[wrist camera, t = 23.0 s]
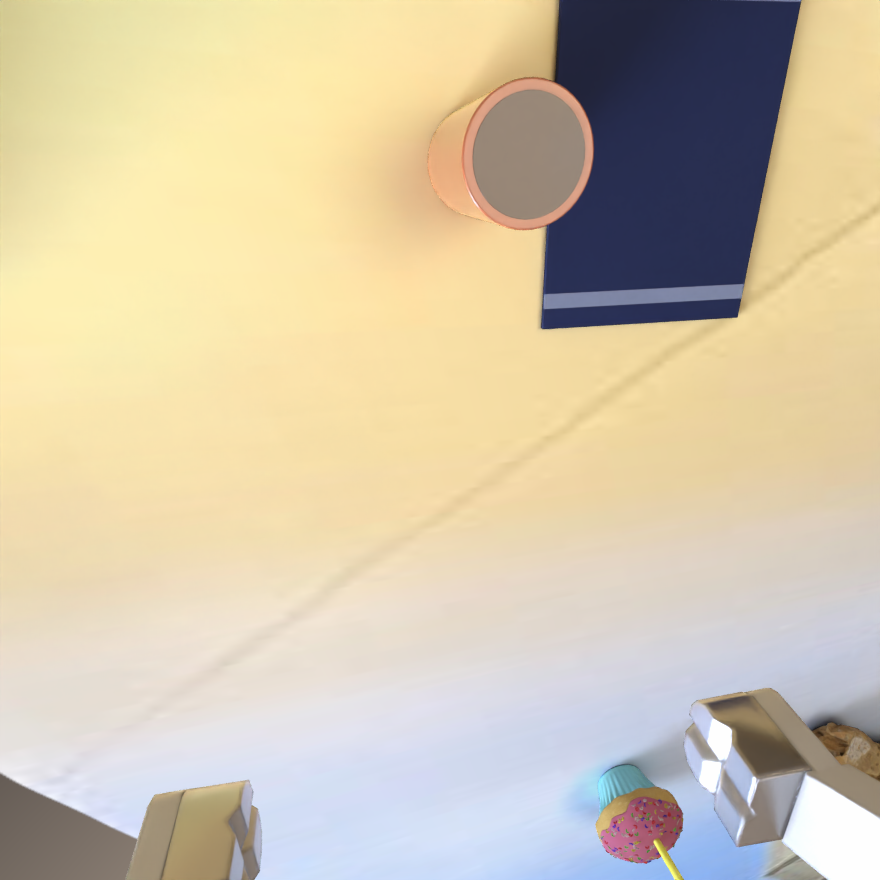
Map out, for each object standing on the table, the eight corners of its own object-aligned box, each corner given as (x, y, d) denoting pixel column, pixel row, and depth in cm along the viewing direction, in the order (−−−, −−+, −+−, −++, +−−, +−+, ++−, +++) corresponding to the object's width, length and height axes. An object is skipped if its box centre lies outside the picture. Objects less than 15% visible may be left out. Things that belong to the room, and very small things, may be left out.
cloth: (734, 316, 40) (737, 317, 39) (540, 328, 38) (542, 329, 37) (806, -48, 31) (811, -50, 31) (562, -57, 29) (565, -60, 29)
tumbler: (492, 234, 35) (546, 255, 26) (409, 182, 33) (436, 185, 24) (544, 142, 33) (621, 129, 24) (460, 82, 31) (510, 43, 22)
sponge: (749, 753, 64) (854, 843, 68) (802, 807, 56) (917, 905, 60) (828, 666, 63) (929, 761, 67) (893, 708, 56) (1002, 814, 60)
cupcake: (595, 751, 57) (655, 884, 47) (669, 751, 59) (743, 878, 48) (571, 808, 61) (621, 944, 50) (641, 805, 62) (705, 936, 52)
